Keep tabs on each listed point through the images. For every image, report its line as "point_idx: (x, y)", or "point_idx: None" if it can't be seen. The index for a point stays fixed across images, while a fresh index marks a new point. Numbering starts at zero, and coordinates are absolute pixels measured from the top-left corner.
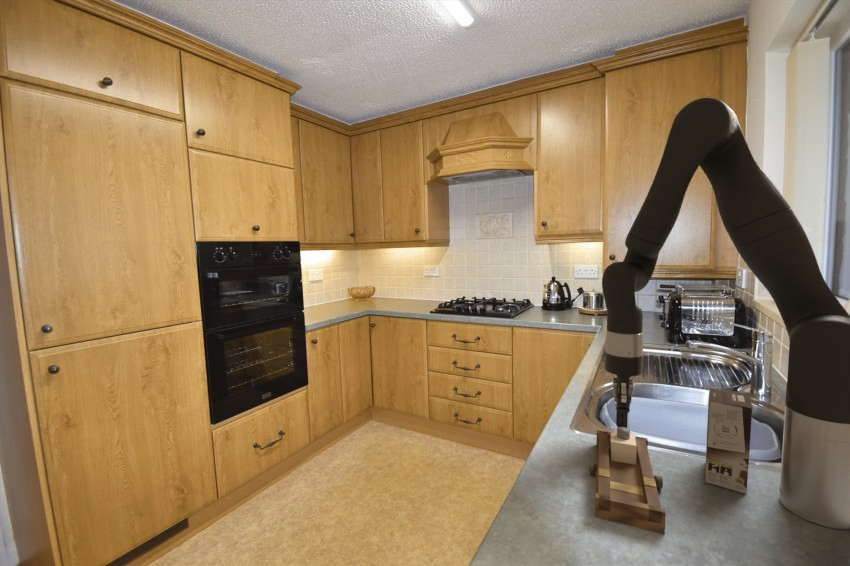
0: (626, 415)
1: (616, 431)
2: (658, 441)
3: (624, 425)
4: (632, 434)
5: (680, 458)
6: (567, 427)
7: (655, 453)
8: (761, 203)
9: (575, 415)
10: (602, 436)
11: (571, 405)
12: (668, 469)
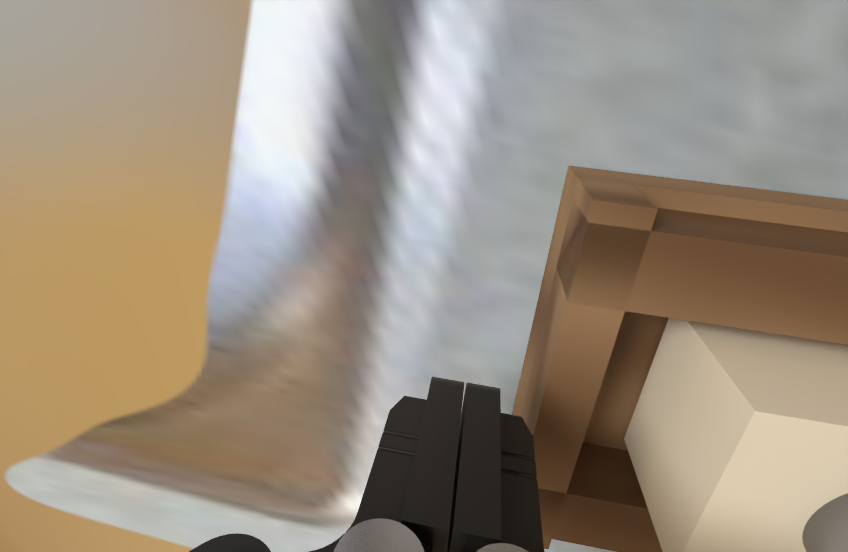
0: (500, 509)
1: (730, 550)
2: (303, 5)
3: (526, 435)
4: (807, 438)
5: None
6: (319, 535)
7: (546, 89)
8: None
9: (137, 475)
10: (617, 533)
11: (8, 470)
12: (836, 41)
